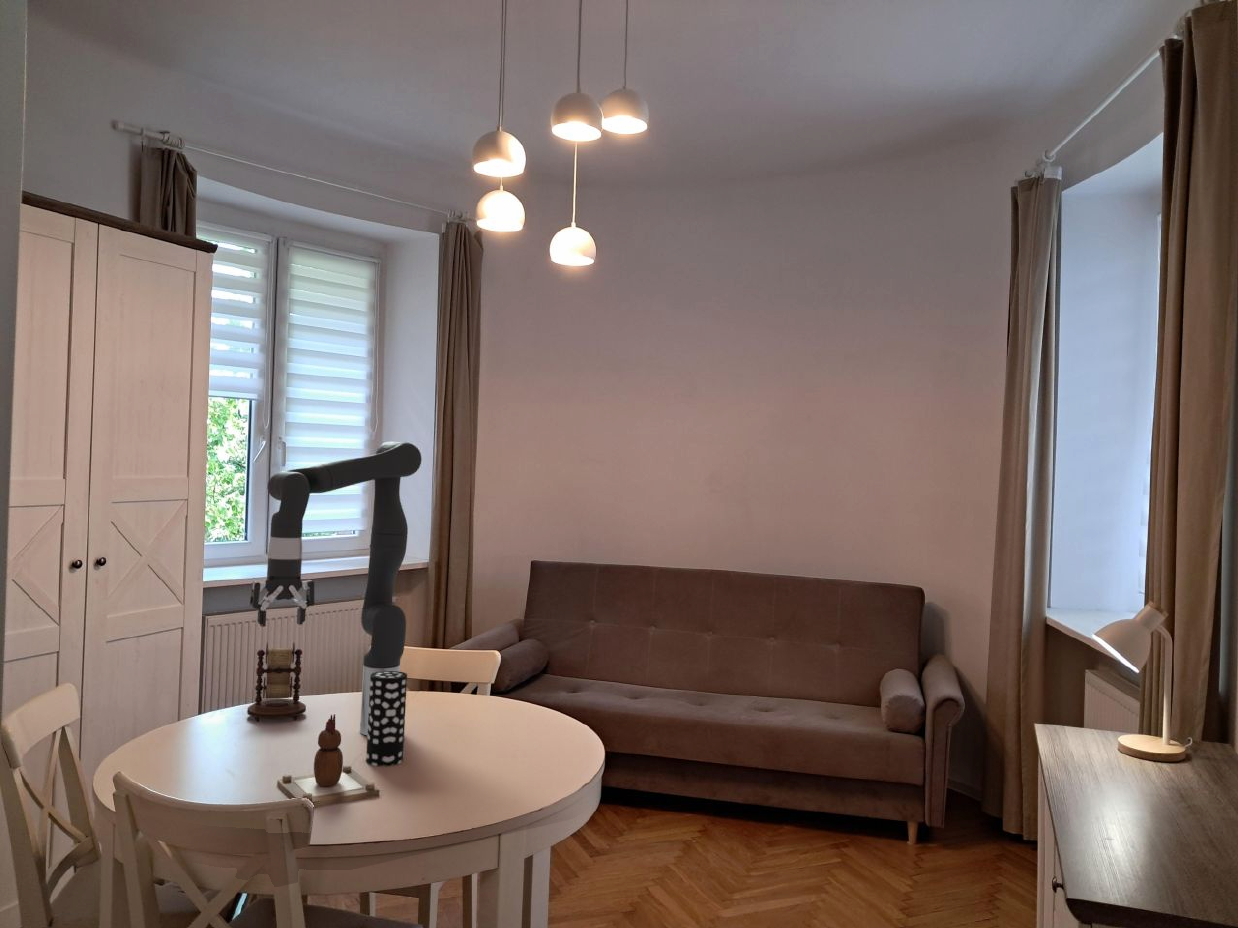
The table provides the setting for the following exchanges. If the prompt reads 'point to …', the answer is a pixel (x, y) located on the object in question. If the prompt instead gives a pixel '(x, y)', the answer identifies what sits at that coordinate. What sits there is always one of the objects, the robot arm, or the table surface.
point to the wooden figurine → (328, 756)
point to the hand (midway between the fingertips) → (281, 625)
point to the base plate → (328, 788)
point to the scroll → (278, 685)
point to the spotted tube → (386, 718)
